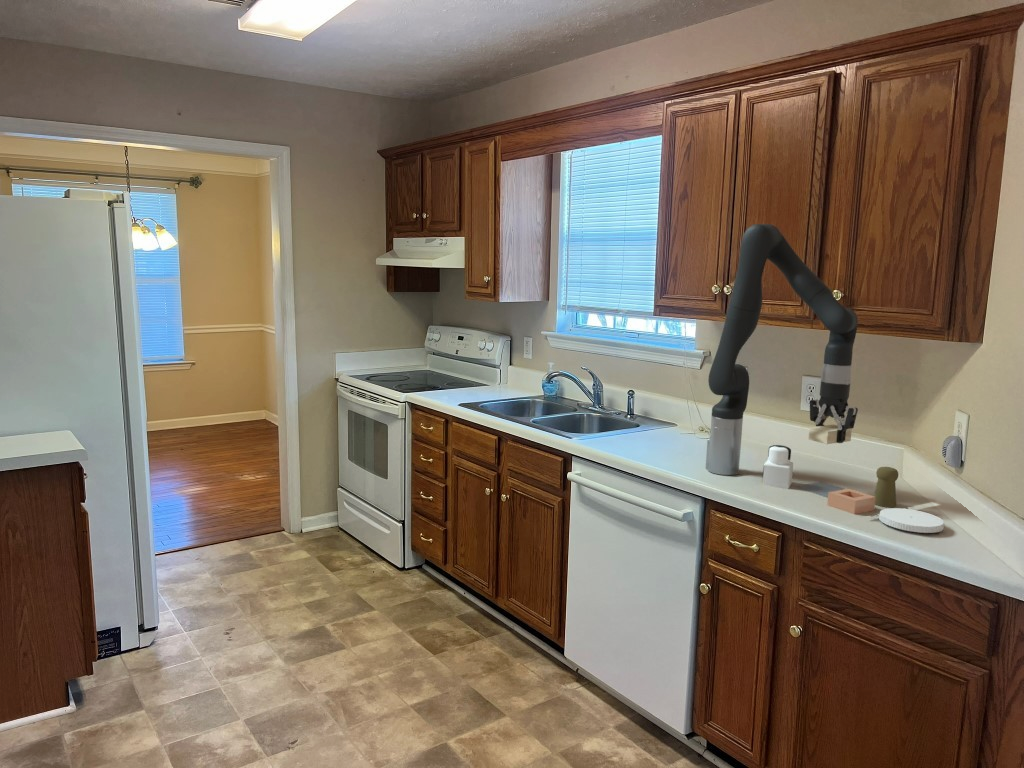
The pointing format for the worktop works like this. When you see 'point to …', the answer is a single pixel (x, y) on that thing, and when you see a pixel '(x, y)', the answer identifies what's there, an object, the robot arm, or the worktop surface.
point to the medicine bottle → (778, 467)
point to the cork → (886, 487)
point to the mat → (819, 488)
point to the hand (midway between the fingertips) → (829, 440)
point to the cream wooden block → (827, 434)
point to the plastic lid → (911, 520)
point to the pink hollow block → (851, 501)
